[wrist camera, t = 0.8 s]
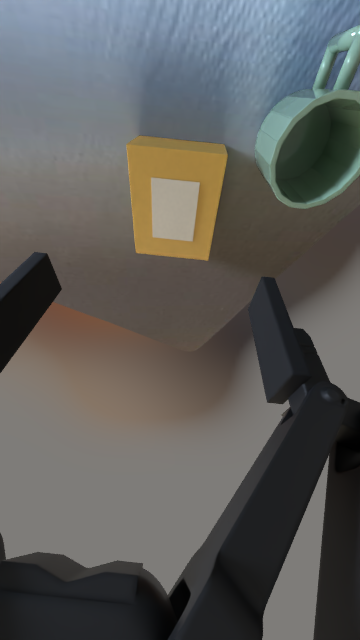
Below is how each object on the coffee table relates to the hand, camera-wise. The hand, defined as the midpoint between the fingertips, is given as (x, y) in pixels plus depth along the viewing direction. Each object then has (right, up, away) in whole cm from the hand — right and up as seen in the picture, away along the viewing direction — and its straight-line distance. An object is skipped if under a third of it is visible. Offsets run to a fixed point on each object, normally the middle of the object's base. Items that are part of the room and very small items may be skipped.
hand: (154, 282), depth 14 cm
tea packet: (+1, +12, +11) cm, 16 cm away
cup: (+12, +16, +6) cm, 21 cm away
